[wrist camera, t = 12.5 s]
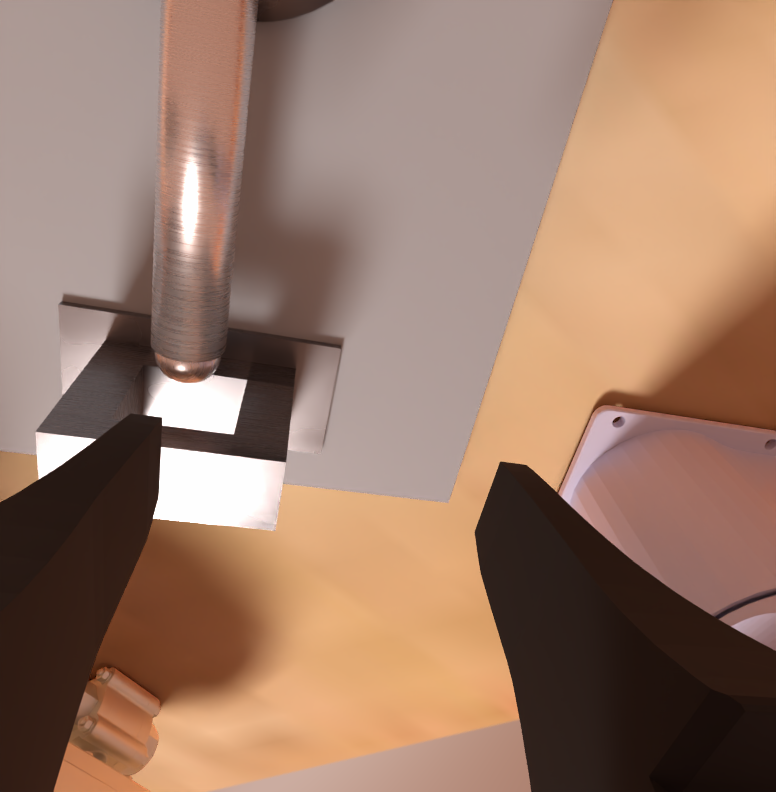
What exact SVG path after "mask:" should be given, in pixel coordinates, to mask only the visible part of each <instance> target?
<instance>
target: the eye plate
mask: <svg viewBox="0 0 776 792" xmlns="http://www.w3.org/2000/svg"><path fill="white" fill-rule="evenodd" d="M58 311H59V332H60V353H61V374H62V395H63V396H62V397H61V399H60V400H59V401H58V403H57V404H56V405H55V407H54V408H53V409H52V411H51V412H50V413H49V414H48V416H47V417H46V418H45V420H44V421H43V422H42V424H41V425H40V426H39V428H38V429H37V430H36V431H35V436H36V450H37V463H38V477H39V479H40V478H42V477H44V476H45V475H47V474H48V473H50V472H51V471H53V470H54V469H56V468H57V467H59V466H60V465H62V464H63V463H64V462H66V461H67V460H69V459H70V458H71V457H73V456H74V455H76V454H77V453H78V452H80V451H81V450H83V449H84V448H85V447H87V446H88V445H89V444H91V443H92V442H93V441H95V440H96V439H97V438H99V437H100V436H101V435H103V434H104V433H105V432H106V431H108V430H109V429H110V428H112V427H113V426H114V425H115V424H117V423H118V422H119V421H121V420H122V419H123V418H125V417H126V416H128V415H129V414H131V413H132V414H140V415H147V416H155V417H163V418H162V441H161V464H160V487H159V499H158V503H157V506H156V510H155V513H154V517H153V518H155V519H165V520H175V521H184V522H194V523H204V524H214V525H223V526H233V527H243V528H253V529H262V530H272V531H275V529H276V523H277V517H278V510H279V504H280V498H281V492H282V486H283V479H284V473H285V467H286V460H287V450H291V451H299V452H307V453H315V454H321V451H322V446H323V441H324V436H325V430H326V425H327V420H328V415H329V410H330V405H331V399H332V394H333V389H334V384H335V379H336V373H337V368H338V363H339V358H340V353H341V345H337V344H331V343H325V342H318V341H312V340H306V339H299V338H293V337H287V336H280V335H274V334H268V333H261V332H255V331H249V330H242V329H236V328H230V327H228V329H227V340H226V350H225V353H224V354H223V355H222V356H221V360H220V364H219V366H218V368H217V369H216V371H215V372H214V373H213V374H212V375H211V376H210V377H209V378H207V379H206V380H204V381H202V382H199V383H195V384H182V383H178V382H175V381H173V380H171V379H169V378H168V377H167V376H166V375H164V374H163V372H162V371H161V370H160V368H159V367H158V365H157V363H156V360H155V355H154V350H153V349H152V347H151V315H148V314H141V313H135V312H129V311H122V310H116V309H110V308H103V307H97V306H91V305H84V304H78V303H72V302H65V301H61V302H60V303H59V304H58Z"/></svg>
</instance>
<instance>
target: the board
mask: <svg viewBox="0 0 776 792" xmlns="http://www.w3.org/2000/svg"><path fill="white" fill-rule="evenodd" d="M612 2H613V0H335V1H333V2H332V3H330V4H328V5H326V6H324V7H322V8H321V9H319V10H317V11H315V12H313V13H310V14H307V15H304V16H301V17H298V18H295V19H290V20H284V21H278V22H256V32H255V42H254V53H253V63H252V74H251V85H250V95H249V106H248V117H247V127H246V138H245V148H244V159H243V170H242V180H241V191H240V202H239V212H238V223H237V234H236V244H235V255H234V265H233V276H232V287H231V297H230V308H229V319H228V327H230V328H236V329H242V330H249V331H255V332H261V333H268V334H274V335H280V336H287V337H293V338H299V339H306V340H312V341H318V342H325V343H331V344H337V345H341V353H340V358H339V363H338V368H337V373H336V379H335V384H334V389H333V394H332V399H331V405H330V410H329V415H328V420H327V425H326V430H325V436H324V441H323V446H322V451H321V454H315V453H307V452H299V451H291V450H287V460H286V467H285V473H284V479H283V484H290V485H298V486H307V487H316V488H324V489H333V490H342V491H350V492H359V493H367V494H376V495H385V496H393V497H402V498H410V499H419V500H428V501H436V502H445V503H448V502H449V499H450V496H451V493H452V490H453V487H454V484H455V481H456V478H457V475H458V472H459V469H460V466H461V463H462V460H463V457H464V453H465V450H466V447H467V444H468V441H469V438H470V435H471V432H472V429H473V426H474V423H475V420H476V417H477V414H478V411H479V408H480V405H481V402H482V399H483V395H484V392H485V389H486V386H487V383H488V380H489V377H490V374H491V371H492V368H493V365H494V362H495V359H496V356H497V353H498V350H499V347H500V344H501V341H502V337H503V334H504V331H505V328H506V325H507V322H508V319H509V316H510V313H511V310H512V307H513V304H514V301H515V298H516V295H517V292H518V289H519V286H520V283H521V279H522V276H523V273H524V270H525V267H526V264H527V261H528V258H529V255H530V252H531V249H532V246H533V243H534V240H535V237H536V234H537V231H538V228H539V225H540V222H541V218H542V215H543V212H544V209H545V206H546V203H547V200H548V197H549V194H550V191H551V188H552V185H553V182H554V179H555V176H556V173H557V170H558V167H559V164H560V160H561V157H562V154H563V151H564V148H565V145H566V142H567V139H568V136H569V133H570V130H571V127H572V124H573V121H574V118H575V115H576V112H577V109H578V106H579V102H580V99H581V96H582V93H583V90H584V87H585V84H586V81H587V78H588V75H589V72H590V69H591V66H592V63H593V60H594V57H595V54H596V51H597V48H598V44H599V41H600V38H601V35H602V32H603V29H604V26H605V23H606V20H607V17H608V14H609V11H610V8H611V5H612ZM160 13H161V0H0V451H5V452H14V453H23V454H31V455H37V450H36V436H35V431H36V430H37V429H38V428H39V426H40V425H41V424H42V422H43V421H44V420H45V418H46V417H47V416H48V414H49V413H50V412H51V411H52V409H53V408H54V407H55V405H56V404H57V403H58V401H59V400H60V399H61V397H62V396H63V395H62V374H61V353H60V332H59V311H58V304H59V303H60V302H61V301H65V302H72V303H78V304H84V305H91V306H97V307H103V308H110V309H116V310H122V311H129V312H135V313H141V314H148V315H152V282H153V248H154V214H155V181H156V147H157V114H158V80H159V47H160Z"/></svg>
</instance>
